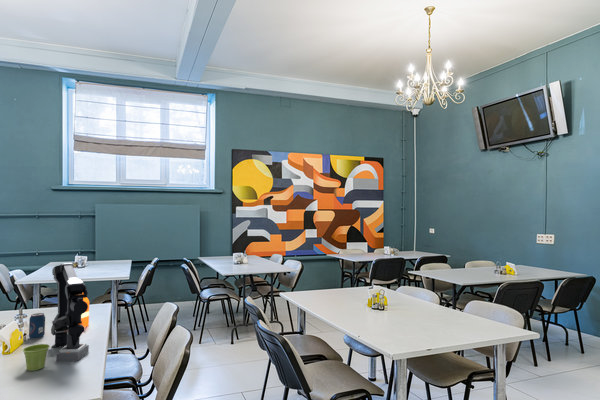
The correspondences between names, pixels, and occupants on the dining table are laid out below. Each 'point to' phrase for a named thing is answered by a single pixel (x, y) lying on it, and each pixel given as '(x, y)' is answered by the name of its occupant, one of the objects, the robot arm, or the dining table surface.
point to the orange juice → (85, 314)
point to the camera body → (72, 353)
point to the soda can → (37, 326)
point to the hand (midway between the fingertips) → (73, 344)
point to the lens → (69, 343)
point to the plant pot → (35, 356)
